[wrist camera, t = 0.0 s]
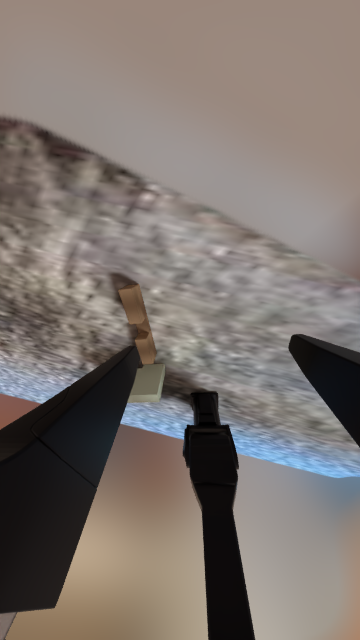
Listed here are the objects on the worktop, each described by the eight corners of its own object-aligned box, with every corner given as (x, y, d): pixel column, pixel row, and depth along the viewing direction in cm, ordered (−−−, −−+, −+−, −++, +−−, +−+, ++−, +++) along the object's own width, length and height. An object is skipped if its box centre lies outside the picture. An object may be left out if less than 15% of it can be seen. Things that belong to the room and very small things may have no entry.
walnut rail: (156, 352, 27) (153, 363, 25) (147, 353, 28) (142, 364, 25) (138, 284, 21) (131, 288, 19) (126, 285, 21) (118, 290, 19)
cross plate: (164, 363, 29) (157, 394, 22) (165, 370, 30) (159, 401, 23) (111, 366, 30) (91, 396, 24) (114, 372, 31) (95, 403, 25)
